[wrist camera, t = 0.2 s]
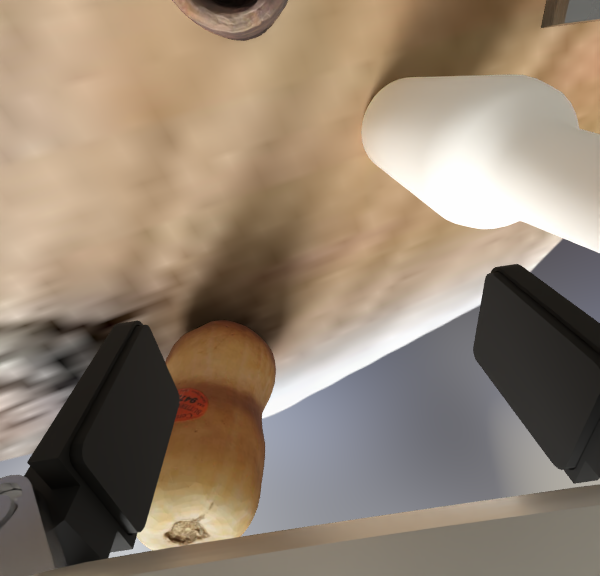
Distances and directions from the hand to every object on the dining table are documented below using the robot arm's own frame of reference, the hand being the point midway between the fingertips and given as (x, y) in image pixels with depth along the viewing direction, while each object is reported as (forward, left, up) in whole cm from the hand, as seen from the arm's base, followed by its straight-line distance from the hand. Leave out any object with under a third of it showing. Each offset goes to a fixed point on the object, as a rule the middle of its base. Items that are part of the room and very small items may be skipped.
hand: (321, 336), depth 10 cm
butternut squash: (+24, -11, -31) cm, 41 cm away
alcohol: (-1, +13, -31) cm, 34 cm away
